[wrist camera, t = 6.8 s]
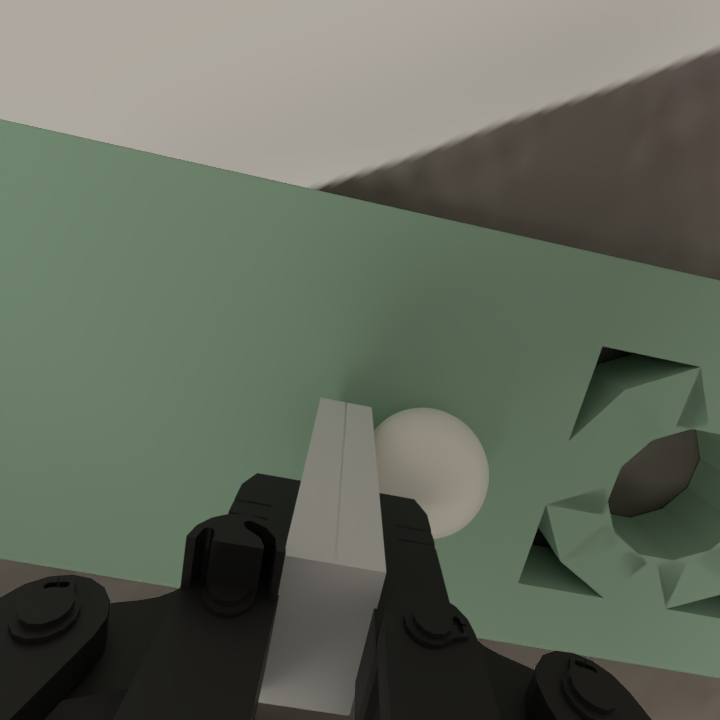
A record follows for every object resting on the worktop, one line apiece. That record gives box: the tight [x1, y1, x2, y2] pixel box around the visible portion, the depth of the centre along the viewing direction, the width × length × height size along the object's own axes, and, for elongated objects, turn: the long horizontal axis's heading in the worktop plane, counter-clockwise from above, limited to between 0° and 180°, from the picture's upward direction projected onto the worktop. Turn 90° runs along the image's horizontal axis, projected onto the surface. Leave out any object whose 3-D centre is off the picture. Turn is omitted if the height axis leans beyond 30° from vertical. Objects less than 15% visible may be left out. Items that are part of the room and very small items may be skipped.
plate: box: [0, 119, 720, 678], centre depth 16 cm, size 32×14×2 cm, turn 78°
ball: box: [374, 407, 489, 539], centre depth 13 cm, size 4×4×4 cm
